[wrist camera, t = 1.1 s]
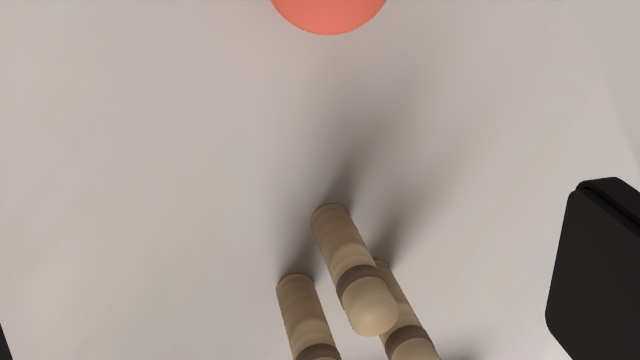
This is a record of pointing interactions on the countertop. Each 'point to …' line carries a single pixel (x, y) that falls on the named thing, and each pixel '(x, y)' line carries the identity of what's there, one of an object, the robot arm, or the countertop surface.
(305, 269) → the countertop surface
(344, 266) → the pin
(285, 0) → the ball
